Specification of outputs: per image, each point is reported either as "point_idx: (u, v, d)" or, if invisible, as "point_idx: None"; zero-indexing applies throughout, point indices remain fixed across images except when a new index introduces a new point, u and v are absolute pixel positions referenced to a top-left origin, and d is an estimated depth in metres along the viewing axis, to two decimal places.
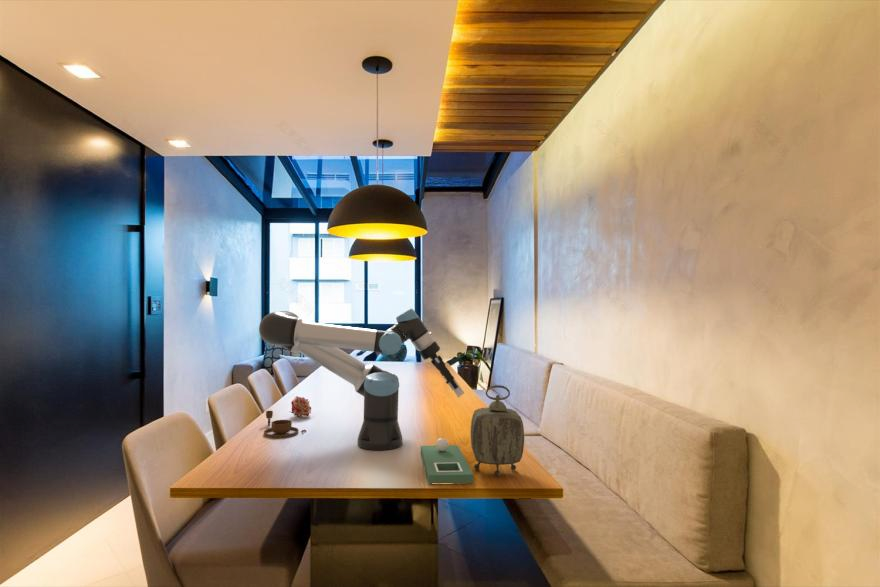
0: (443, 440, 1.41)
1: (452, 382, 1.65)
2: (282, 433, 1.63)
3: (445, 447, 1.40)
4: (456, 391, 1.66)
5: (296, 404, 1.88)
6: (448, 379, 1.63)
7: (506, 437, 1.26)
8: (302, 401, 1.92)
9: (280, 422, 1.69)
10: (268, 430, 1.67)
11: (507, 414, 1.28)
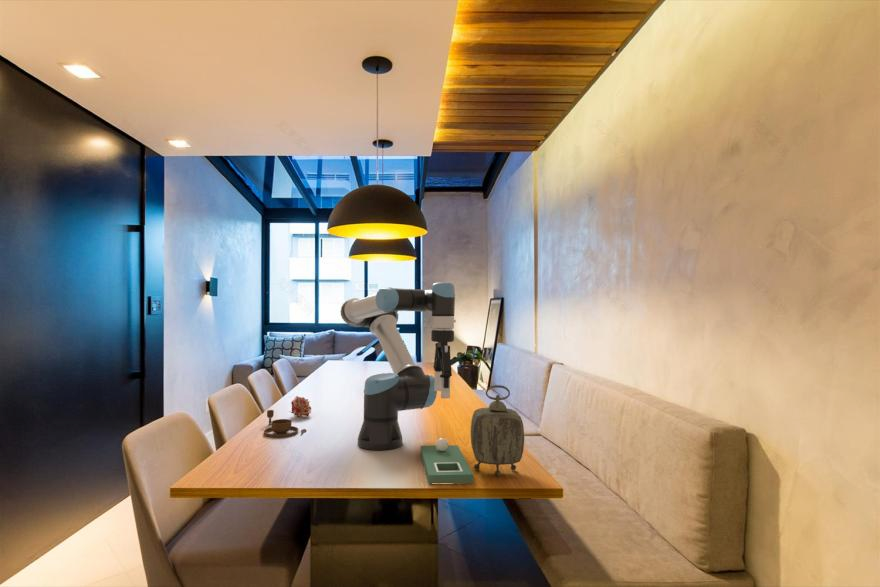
0: (443, 440, 1.41)
1: (446, 379, 1.42)
2: (282, 432, 1.64)
3: (445, 447, 1.40)
4: (443, 391, 1.43)
5: (296, 404, 1.88)
6: (445, 373, 1.40)
7: (506, 437, 1.26)
8: (302, 401, 1.92)
9: (280, 421, 1.69)
10: (268, 429, 1.68)
11: (507, 414, 1.28)
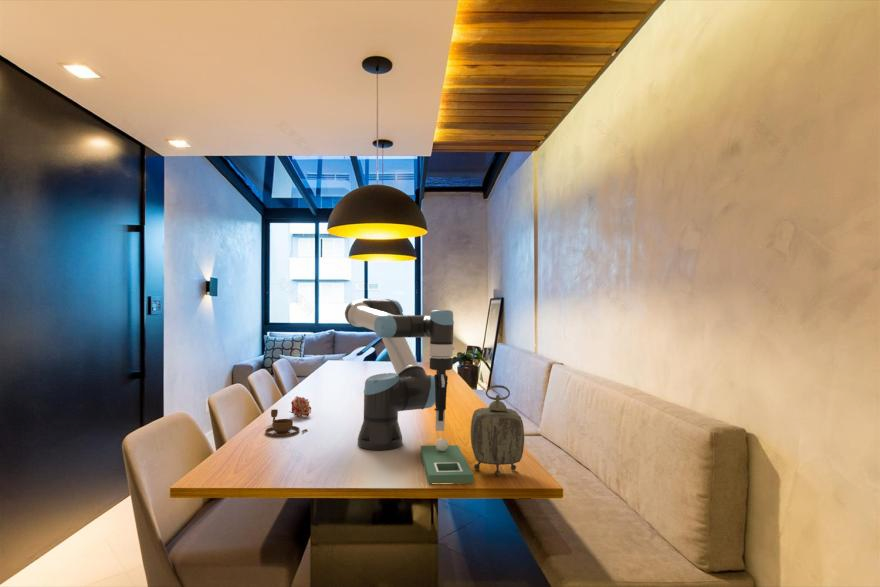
0: (443, 440, 1.41)
1: (440, 412, 1.47)
2: (282, 432, 1.65)
3: (445, 447, 1.40)
4: (438, 423, 1.48)
5: (296, 404, 1.88)
6: (439, 408, 1.45)
7: (506, 437, 1.26)
8: (302, 401, 1.92)
9: (282, 421, 1.70)
10: (270, 429, 1.69)
11: (507, 414, 1.28)
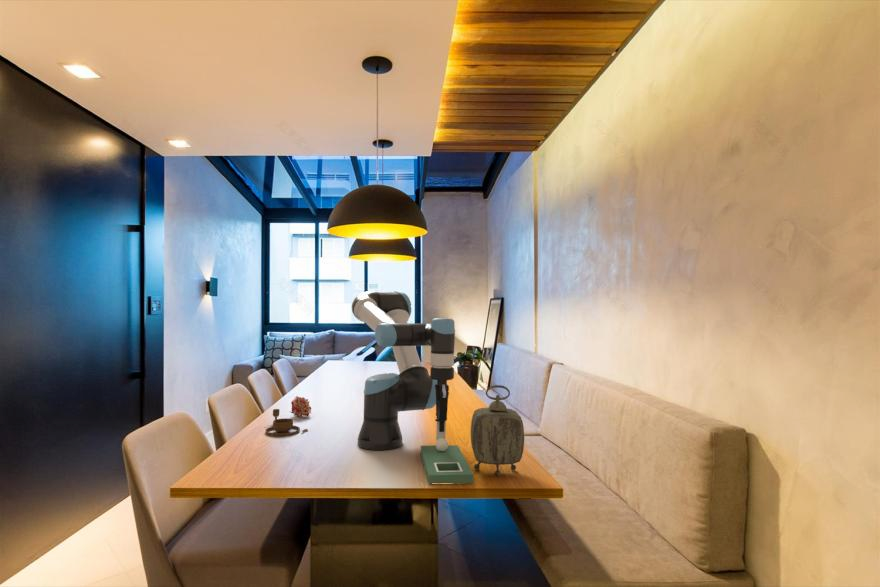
0: (443, 440, 1.41)
1: (441, 423, 1.44)
2: (282, 432, 1.65)
3: (445, 447, 1.40)
4: (439, 434, 1.44)
5: (296, 404, 1.88)
6: (440, 419, 1.42)
7: (506, 437, 1.26)
8: (302, 401, 1.92)
9: (283, 421, 1.71)
10: (271, 428, 1.70)
11: (507, 414, 1.28)
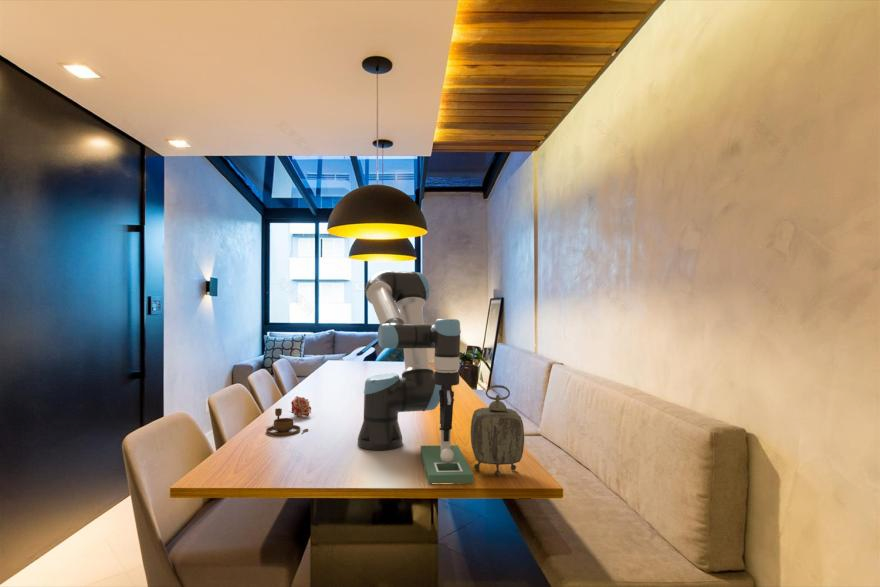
0: None
1: (446, 432, 1.33)
2: (283, 431, 1.66)
3: (450, 451, 1.30)
4: (443, 444, 1.34)
5: (296, 404, 1.88)
6: (445, 428, 1.31)
7: (506, 437, 1.26)
8: (302, 401, 1.92)
9: (284, 420, 1.71)
10: (272, 427, 1.71)
11: (507, 414, 1.28)
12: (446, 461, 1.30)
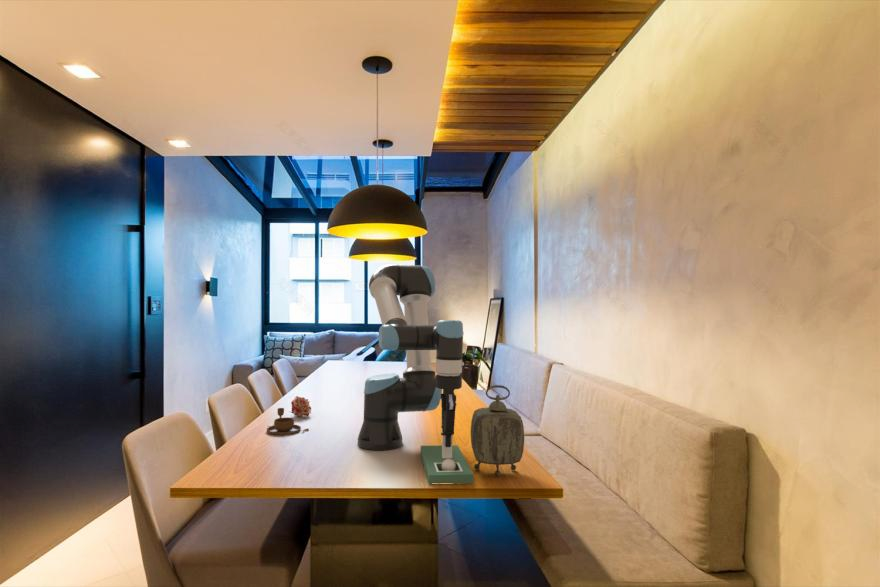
0: (450, 465, 1.27)
1: (448, 437, 1.28)
2: (283, 431, 1.66)
3: None
4: (445, 450, 1.29)
5: (296, 404, 1.88)
6: (447, 433, 1.27)
7: (506, 437, 1.26)
8: (302, 401, 1.92)
9: (285, 420, 1.72)
10: (273, 427, 1.72)
11: (507, 414, 1.28)
12: None
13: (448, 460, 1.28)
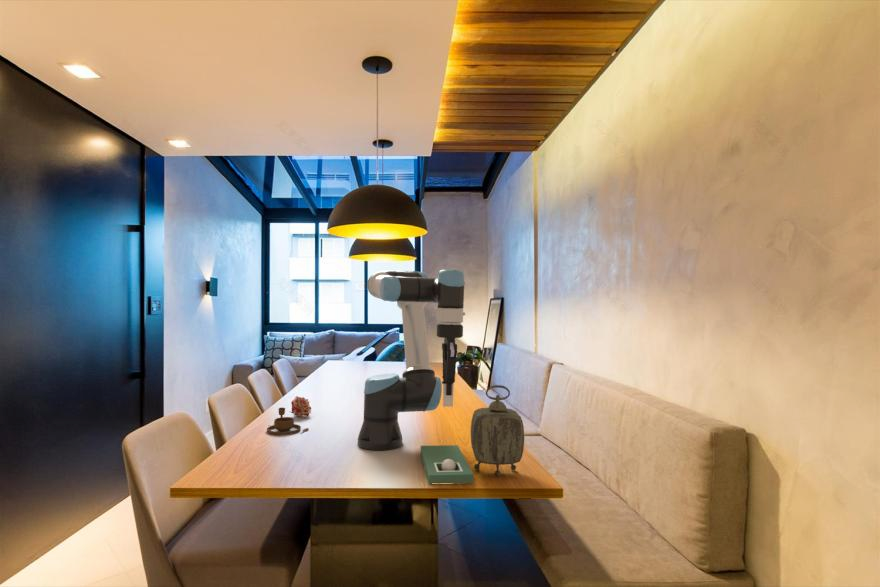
0: (450, 465, 1.27)
1: (449, 386, 1.29)
2: (283, 430, 1.67)
3: None
4: (446, 398, 1.30)
5: (296, 404, 1.88)
6: (448, 381, 1.27)
7: (506, 437, 1.26)
8: (302, 401, 1.92)
9: (285, 419, 1.73)
10: (274, 426, 1.72)
11: (507, 414, 1.28)
12: None
13: (448, 460, 1.28)
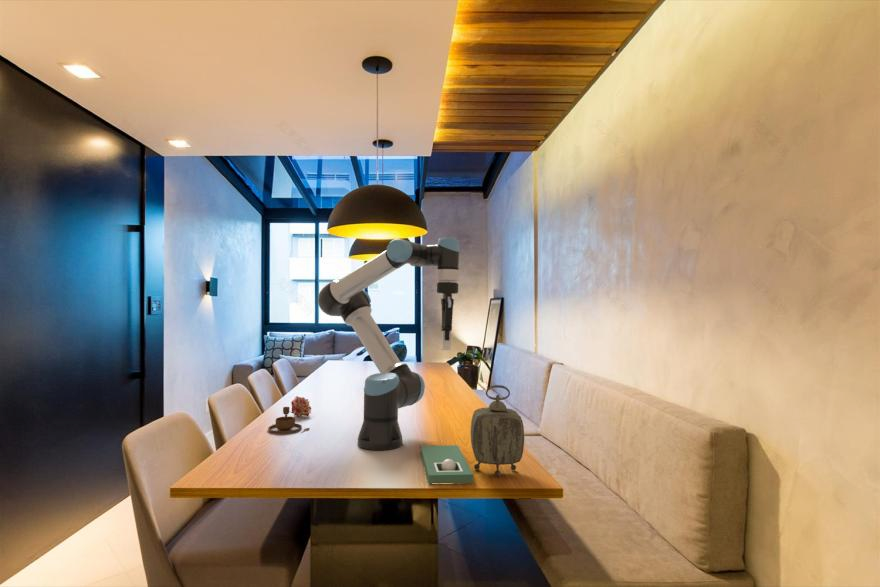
0: (450, 465, 1.27)
1: (447, 332, 1.58)
2: (283, 429, 1.68)
3: None
4: (444, 343, 1.59)
5: (296, 404, 1.88)
6: (446, 327, 1.56)
7: (506, 437, 1.26)
8: (302, 401, 1.92)
9: (287, 419, 1.74)
10: None
11: (507, 414, 1.28)
12: None
13: (448, 460, 1.28)
